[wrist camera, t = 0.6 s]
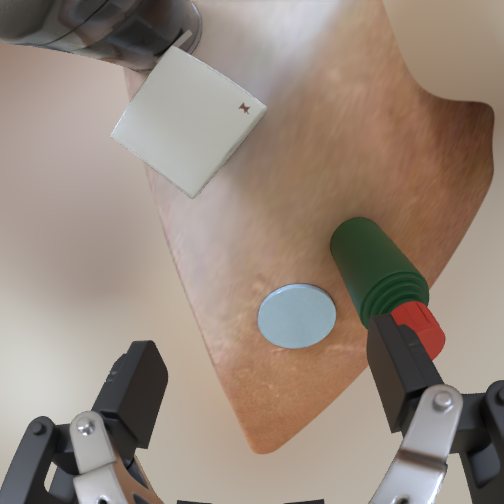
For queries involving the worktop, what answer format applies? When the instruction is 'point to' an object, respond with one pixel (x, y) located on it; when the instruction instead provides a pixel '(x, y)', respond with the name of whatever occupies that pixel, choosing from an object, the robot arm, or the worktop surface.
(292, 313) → the saucer
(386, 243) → the sauce bottle
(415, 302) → the cap
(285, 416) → the worktop surface
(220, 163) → the white packaging box
